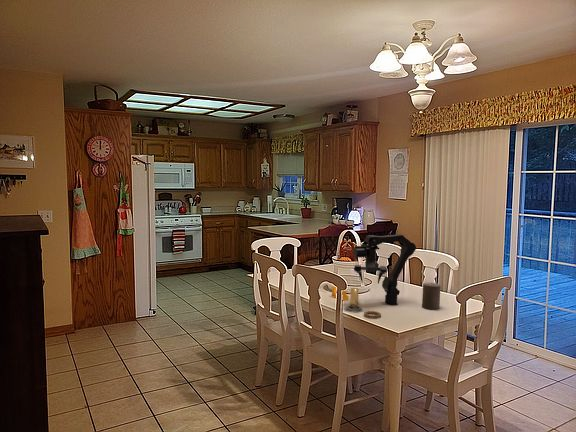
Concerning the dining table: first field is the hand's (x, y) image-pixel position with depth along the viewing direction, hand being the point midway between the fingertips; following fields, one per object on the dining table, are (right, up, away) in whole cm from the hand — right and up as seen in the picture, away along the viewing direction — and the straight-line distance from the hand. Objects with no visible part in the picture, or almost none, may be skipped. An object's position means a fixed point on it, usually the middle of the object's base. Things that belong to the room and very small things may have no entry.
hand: (370, 283), depth 253 cm
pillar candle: (+35, -14, -3) cm, 37 cm away
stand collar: (-2, -15, -20) cm, 25 cm away
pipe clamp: (-16, -12, +16) cm, 25 cm away
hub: (-11, -14, -8) cm, 19 cm away
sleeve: (-11, -14, -8) cm, 19 cm away
